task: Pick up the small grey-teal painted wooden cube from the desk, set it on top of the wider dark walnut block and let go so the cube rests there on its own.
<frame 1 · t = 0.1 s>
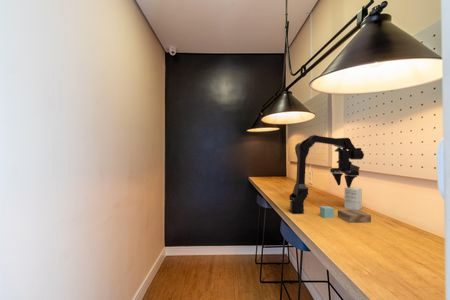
hand: (343, 186, 130), 15 cm above the table, tool pointing down, fingers open, 9 cm apart
supplement box: (352, 209, 136), on the table
teal cube: (326, 216, 119), on the table
walnut block: (353, 220, 114), on the table
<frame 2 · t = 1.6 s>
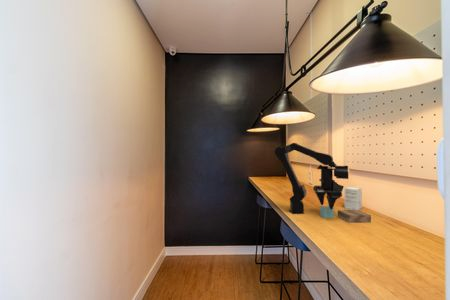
hand: (326, 206, 120), 5 cm above the table, tool pointing down, fingers open, 9 cm apart
nothing on the table moved.
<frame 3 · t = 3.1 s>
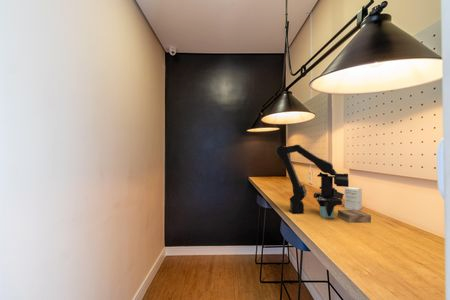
hand: (326, 214, 119), 1 cm above the table, tool pointing down, fingers closed on teal cube, 5 cm apart
teal cube: (326, 216, 119), on the table, touching gripper
everything else where it was.
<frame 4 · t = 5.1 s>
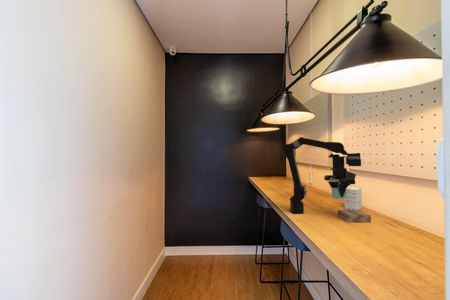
hand: (339, 195, 117), 12 cm above the table, tool pointing down, fingers closed on teal cube, 5 cm apart
teal cube: (339, 197, 117), point 11 cm above the table, touching gripper
everything else where it was.
when the fingers open (6 cm above the table, at t = 7.1 s): teal cube drops 2 cm, point 4 cm above the table.
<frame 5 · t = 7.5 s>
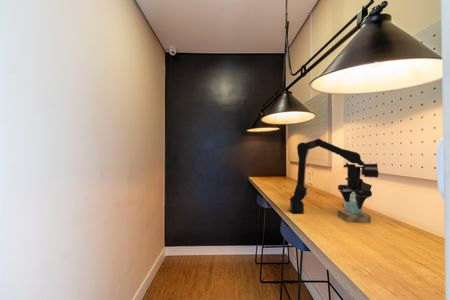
hand: (353, 206, 114), 6 cm above the table, tool pointing down, fingers open, 9 cm apart
teal cube: (353, 212, 114), point 4 cm above the table
everything else where it was.
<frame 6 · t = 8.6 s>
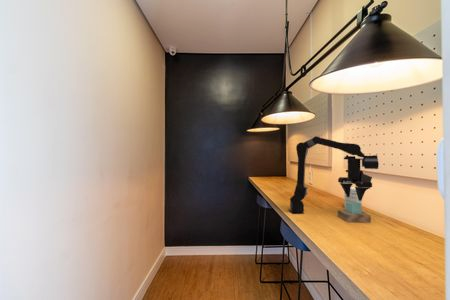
hand: (353, 198, 114), 11 cm above the table, tool pointing down, fingers open, 9 cm apart
teal cube: (353, 212, 114), point 4 cm above the table, touching walnut block
walnut block: (353, 220, 114), on the table, touching teal cube
everything else where it was.
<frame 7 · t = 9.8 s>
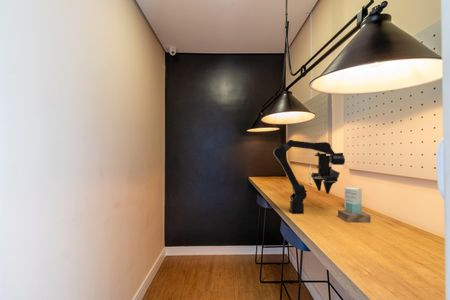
hand: (323, 192, 126), 12 cm above the table, tool pointing down, fingers open, 9 cm apart
nothing on the table moved.
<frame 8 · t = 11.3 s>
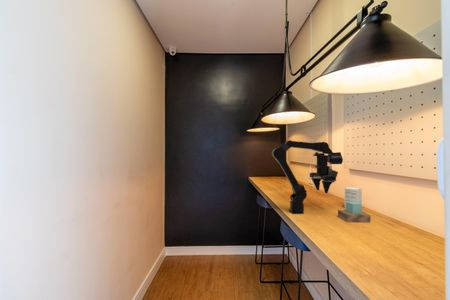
hand: (322, 191, 127), 12 cm above the table, tool pointing down, fingers open, 9 cm apart
nothing on the table moved.
at the end: teal cube inside the target area on the walnut block (0.3 cm from its centre), point 4.0 cm above the walnut block's base; teal cube tilted 0°; the gripper is holding nothing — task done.
